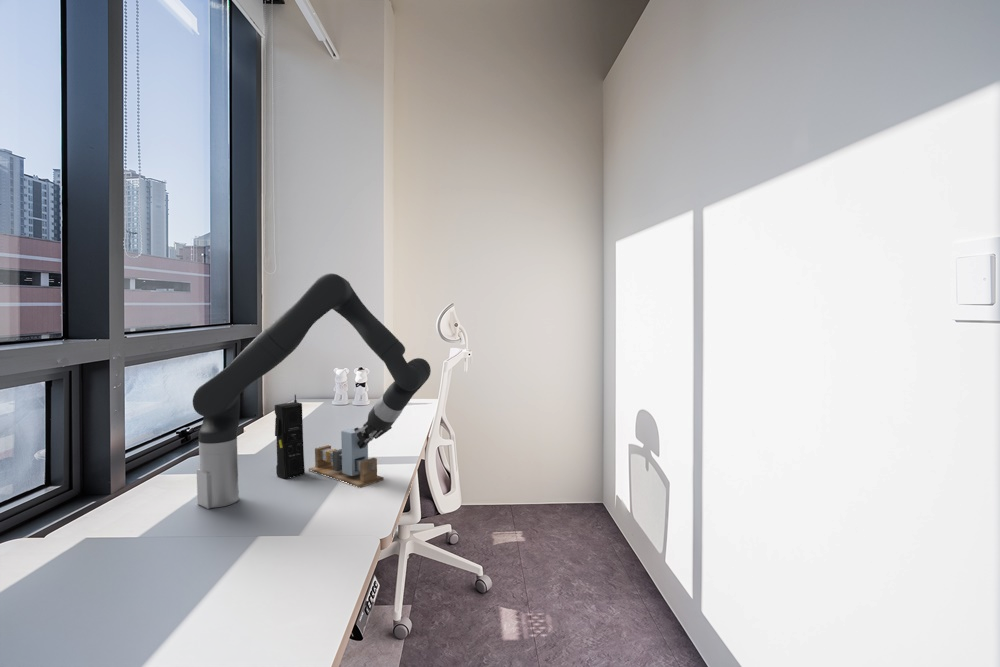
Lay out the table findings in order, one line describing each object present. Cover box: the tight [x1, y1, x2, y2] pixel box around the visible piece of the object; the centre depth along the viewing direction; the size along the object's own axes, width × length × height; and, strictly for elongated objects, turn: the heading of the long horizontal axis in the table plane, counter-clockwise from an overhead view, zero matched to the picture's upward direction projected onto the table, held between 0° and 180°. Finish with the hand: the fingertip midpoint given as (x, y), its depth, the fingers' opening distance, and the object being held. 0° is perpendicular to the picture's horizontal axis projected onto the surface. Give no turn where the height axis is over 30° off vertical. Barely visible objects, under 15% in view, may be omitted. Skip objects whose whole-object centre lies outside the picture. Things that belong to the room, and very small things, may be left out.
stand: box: [308, 444, 384, 488], centre depth 170 cm, size 26×9×7 cm, turn 52°
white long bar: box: [320, 448, 374, 472], centre depth 170 cm, size 25×3×3 cm, turn 52°
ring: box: [333, 448, 342, 471], centre depth 171 cm, size 2×6×6 cm, turn 142°
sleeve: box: [340, 426, 369, 476], centre depth 167 cm, size 5×6×13 cm
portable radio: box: [274, 394, 306, 480], centre depth 169 cm, size 8×6×25 cm
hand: (360, 445), depth 165 cm, fingers closed
